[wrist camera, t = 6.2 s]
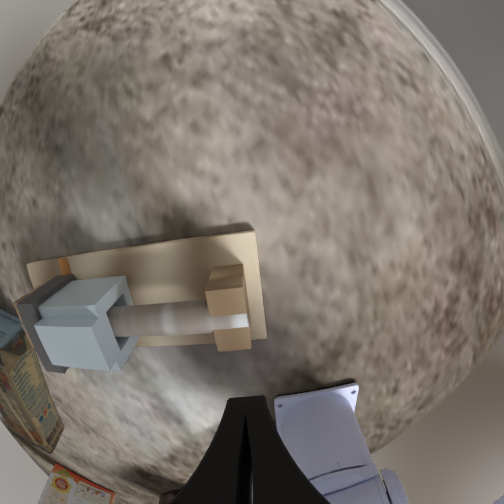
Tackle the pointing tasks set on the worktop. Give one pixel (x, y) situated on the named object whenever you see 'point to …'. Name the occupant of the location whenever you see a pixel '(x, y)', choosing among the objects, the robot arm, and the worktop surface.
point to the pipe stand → (176, 289)
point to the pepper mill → (168, 497)
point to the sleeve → (85, 325)
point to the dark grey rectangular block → (32, 316)
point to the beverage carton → (25, 388)
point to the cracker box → (73, 489)
